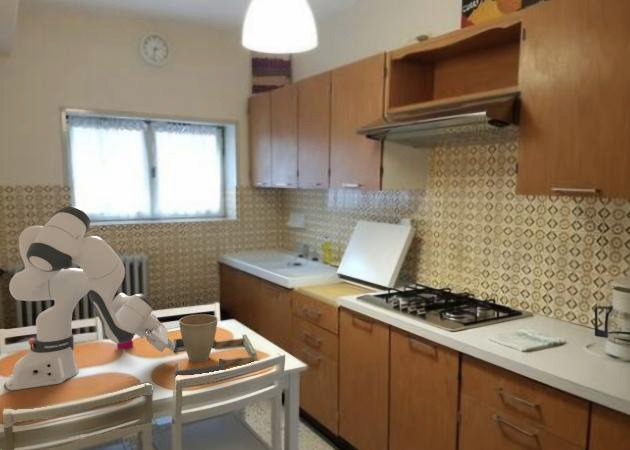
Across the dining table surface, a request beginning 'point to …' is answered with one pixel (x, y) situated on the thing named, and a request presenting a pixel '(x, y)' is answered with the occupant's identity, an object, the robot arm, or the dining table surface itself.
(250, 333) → the dining table surface
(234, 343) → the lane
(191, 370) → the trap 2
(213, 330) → the plant pot
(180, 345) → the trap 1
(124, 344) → the pepper mill
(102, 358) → the dining table surface
